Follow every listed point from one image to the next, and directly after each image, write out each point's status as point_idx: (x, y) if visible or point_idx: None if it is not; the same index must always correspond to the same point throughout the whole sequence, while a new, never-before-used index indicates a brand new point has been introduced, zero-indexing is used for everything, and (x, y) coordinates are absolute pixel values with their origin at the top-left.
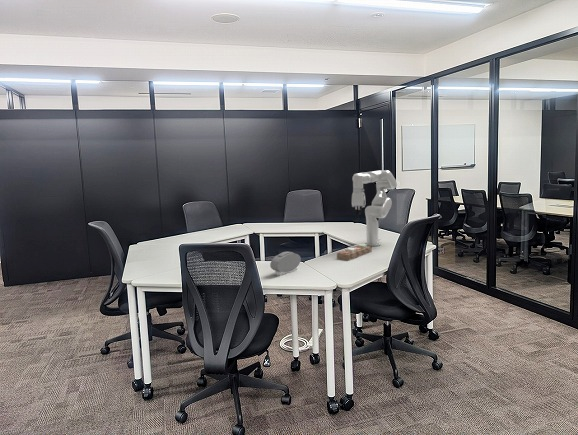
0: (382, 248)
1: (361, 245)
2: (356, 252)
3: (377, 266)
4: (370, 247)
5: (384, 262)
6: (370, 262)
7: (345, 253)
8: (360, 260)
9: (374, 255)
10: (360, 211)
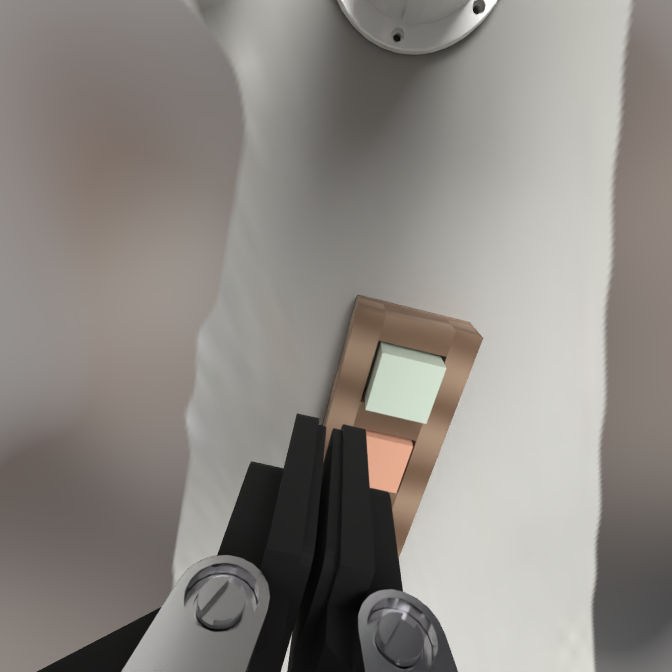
0: (555, 145)
1: (405, 418)
2: (401, 547)
3: (558, 657)
4: (474, 354)
5: (594, 582)
6: (508, 599)
7: None
8: (439, 574)
9: (511, 434)
10: (392, 553)
